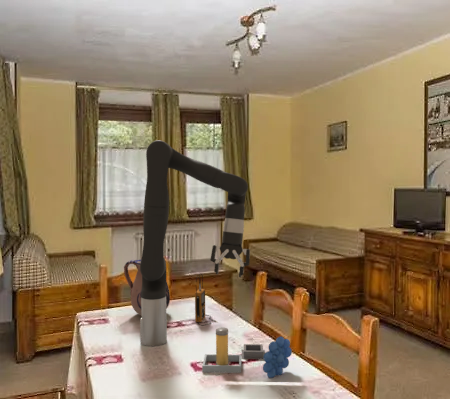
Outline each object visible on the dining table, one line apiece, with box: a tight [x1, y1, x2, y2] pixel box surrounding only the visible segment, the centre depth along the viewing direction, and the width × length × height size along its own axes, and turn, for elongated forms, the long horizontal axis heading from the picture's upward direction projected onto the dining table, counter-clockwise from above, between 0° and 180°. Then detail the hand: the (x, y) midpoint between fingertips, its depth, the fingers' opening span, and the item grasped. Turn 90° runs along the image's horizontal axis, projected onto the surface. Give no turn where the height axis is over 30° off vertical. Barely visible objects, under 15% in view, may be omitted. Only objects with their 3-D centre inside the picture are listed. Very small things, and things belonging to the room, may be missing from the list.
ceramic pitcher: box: [123, 259, 171, 317], centre depth 194 cm, size 18×21×25 cm
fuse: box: [215, 327, 230, 365], centre depth 136 cm, size 4×4×12 cm
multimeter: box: [194, 273, 218, 327], centre depth 185 cm, size 15×10×20 cm
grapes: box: [262, 336, 293, 379], centre depth 131 cm, size 12×7×12 cm, turn 128°
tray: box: [201, 353, 242, 374], centre depth 136 cm, size 12×9×3 cm
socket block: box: [241, 343, 266, 360], centre depth 145 cm, size 8×8×3 cm
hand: (228, 275), depth 156 cm, fingers open, 8 cm apart
